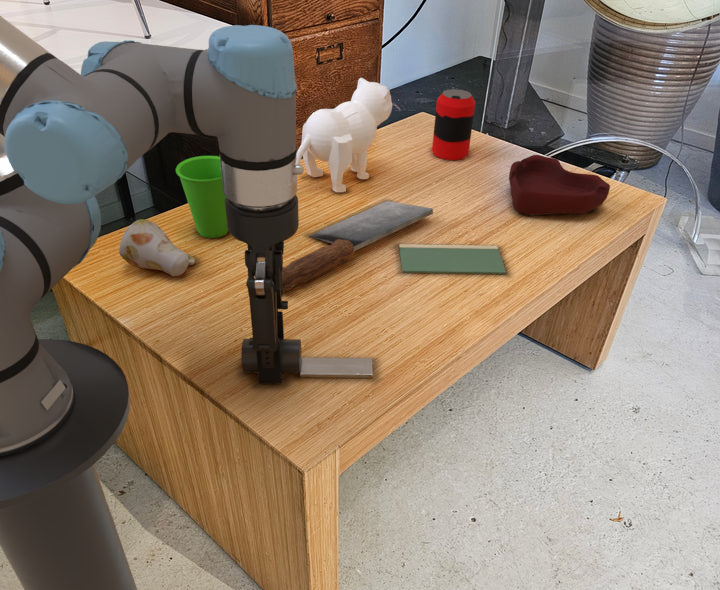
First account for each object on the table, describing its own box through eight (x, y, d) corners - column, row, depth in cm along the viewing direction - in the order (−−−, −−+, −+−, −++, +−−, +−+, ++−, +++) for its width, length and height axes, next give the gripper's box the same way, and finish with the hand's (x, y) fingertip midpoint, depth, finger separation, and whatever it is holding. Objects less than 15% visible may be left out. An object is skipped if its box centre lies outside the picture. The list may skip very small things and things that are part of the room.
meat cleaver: (386, 200, 119) (387, 179, 117) (434, 222, 113) (436, 201, 111) (237, 270, 101) (234, 247, 98) (285, 301, 95) (283, 277, 92)
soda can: (429, 158, 134) (435, 98, 126) (433, 144, 140) (439, 86, 132) (467, 162, 133) (475, 102, 125) (469, 148, 139) (477, 89, 131)
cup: (204, 250, 104) (195, 185, 97) (175, 228, 109) (164, 165, 102) (251, 232, 109) (246, 169, 102) (221, 212, 114) (214, 150, 107)
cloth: (402, 273, 101) (402, 270, 100) (398, 246, 107) (399, 243, 107) (505, 274, 101) (506, 271, 101) (496, 247, 107) (497, 245, 107)
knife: (243, 379, 81) (240, 353, 78) (246, 357, 84) (244, 331, 81) (372, 380, 82) (374, 354, 79) (371, 359, 85) (373, 333, 82)
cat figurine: (304, 209, 116) (301, 113, 105) (270, 188, 122) (264, 95, 111) (406, 172, 129) (413, 84, 118) (371, 155, 135) (375, 69, 124)
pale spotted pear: (178, 290, 96) (132, 235, 90) (144, 293, 102) (100, 242, 97) (209, 257, 99) (167, 203, 94) (174, 262, 106) (133, 211, 101)
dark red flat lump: (477, 197, 121) (481, 171, 118) (533, 175, 129) (538, 150, 126) (556, 236, 111) (562, 209, 108) (611, 209, 119) (619, 183, 116)
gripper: (293, 239, 61) (298, 417, 76) (302, 161, 74) (305, 325, 89) (211, 237, 61) (233, 416, 76) (235, 159, 74) (249, 324, 89)
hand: (272, 367), depth 82 cm, fingers open, 4 cm apart
